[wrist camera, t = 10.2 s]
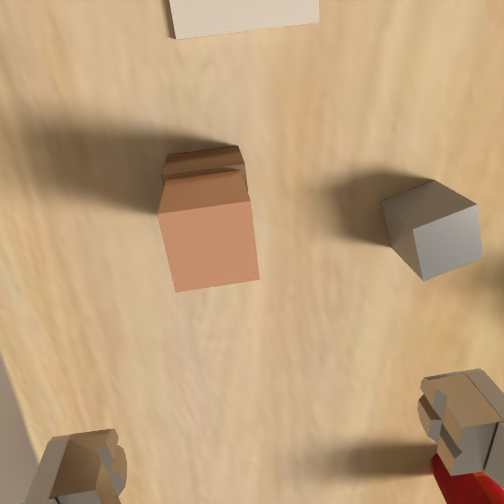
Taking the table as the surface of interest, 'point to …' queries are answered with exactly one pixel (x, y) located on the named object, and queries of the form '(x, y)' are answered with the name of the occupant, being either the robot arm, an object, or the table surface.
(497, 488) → the paper cup
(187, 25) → the tile
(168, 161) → the walnut block
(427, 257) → the grey block
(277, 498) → the table surface
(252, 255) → the salmon orange block
